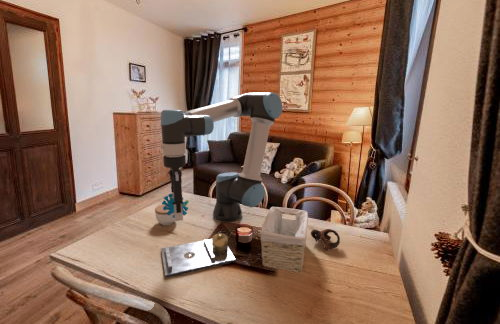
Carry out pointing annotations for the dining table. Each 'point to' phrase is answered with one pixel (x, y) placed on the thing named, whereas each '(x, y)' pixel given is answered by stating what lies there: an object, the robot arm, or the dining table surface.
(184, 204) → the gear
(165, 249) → the board
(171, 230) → the dining table surface
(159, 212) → the lidded jar
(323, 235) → the dark brown ring ornament
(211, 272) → the dining table surface
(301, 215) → the storage basket
